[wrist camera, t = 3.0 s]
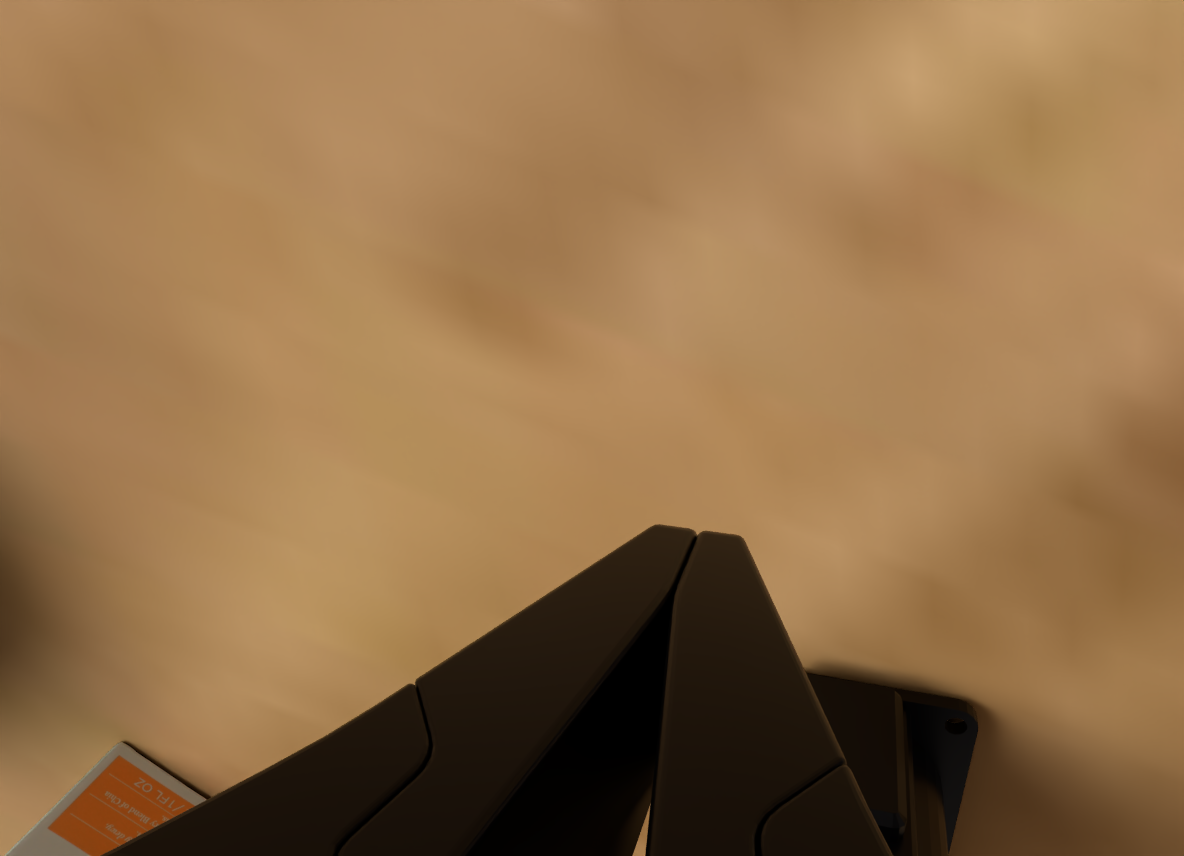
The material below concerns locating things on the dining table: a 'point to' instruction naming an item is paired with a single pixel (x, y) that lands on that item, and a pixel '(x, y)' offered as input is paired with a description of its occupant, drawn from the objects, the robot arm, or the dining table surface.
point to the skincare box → (108, 808)
